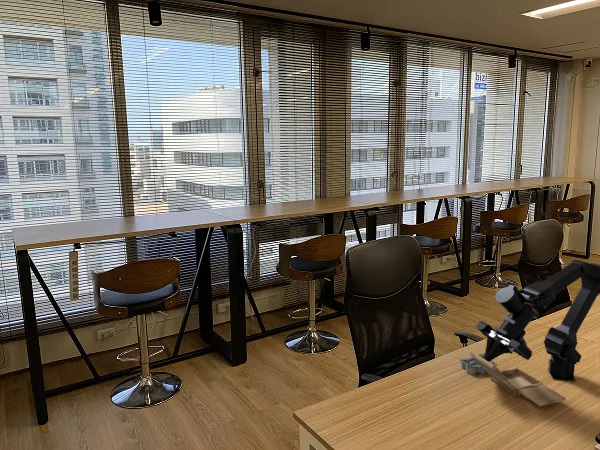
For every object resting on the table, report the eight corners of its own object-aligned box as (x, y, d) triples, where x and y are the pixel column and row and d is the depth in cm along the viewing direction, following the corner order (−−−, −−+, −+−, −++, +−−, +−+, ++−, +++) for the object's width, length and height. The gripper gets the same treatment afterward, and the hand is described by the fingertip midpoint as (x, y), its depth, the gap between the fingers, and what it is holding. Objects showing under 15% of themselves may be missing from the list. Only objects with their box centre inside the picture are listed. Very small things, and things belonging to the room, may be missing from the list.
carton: (516, 374, 156) (516, 367, 155) (566, 405, 138) (566, 397, 137) (490, 380, 153) (491, 372, 152) (538, 412, 135) (539, 403, 134)
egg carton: (487, 363, 165) (488, 352, 164) (498, 373, 157) (499, 362, 157) (457, 365, 164) (458, 354, 163) (467, 375, 156) (468, 364, 156)
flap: (492, 372, 152) (471, 350, 148) (515, 387, 142) (493, 364, 138) (489, 375, 152) (468, 353, 148) (512, 390, 142) (491, 367, 138)
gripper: (555, 348, 139) (523, 390, 138) (509, 325, 157) (479, 362, 155) (535, 326, 135) (501, 369, 134) (490, 305, 153) (460, 343, 151)
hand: (485, 361), depth 144 cm, fingers closed, pressing on flap
